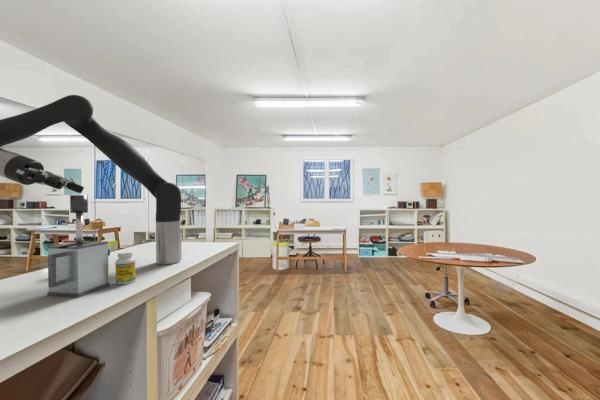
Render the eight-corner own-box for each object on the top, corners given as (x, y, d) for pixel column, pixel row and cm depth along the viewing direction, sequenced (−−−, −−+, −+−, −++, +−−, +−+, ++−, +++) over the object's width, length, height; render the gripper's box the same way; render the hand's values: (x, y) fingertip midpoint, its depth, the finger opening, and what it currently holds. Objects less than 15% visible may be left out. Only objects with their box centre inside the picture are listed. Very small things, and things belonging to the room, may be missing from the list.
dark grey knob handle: (80, 254, 83) (80, 195, 83) (100, 254, 82) (100, 195, 82) (57, 259, 77) (56, 195, 76) (78, 259, 75) (77, 195, 75)
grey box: (81, 284, 85) (81, 240, 85) (109, 285, 84) (109, 241, 84) (34, 299, 72) (34, 248, 72) (66, 301, 71) (66, 249, 71)
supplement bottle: (135, 278, 91) (134, 250, 91) (136, 282, 86) (135, 252, 86) (115, 281, 88) (115, 251, 88) (115, 285, 83) (115, 254, 83)
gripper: (-1, 148, 72) (60, 171, 74) (42, 161, 86) (93, 180, 88) (-16, 174, 71) (47, 197, 73) (31, 183, 85) (82, 202, 87)
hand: (72, 188), depth 80 cm, fingers open, 8 cm apart
